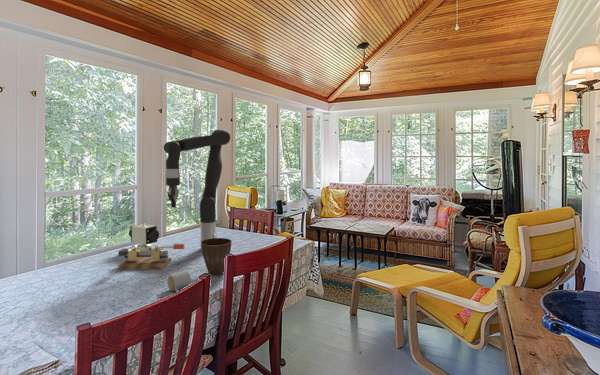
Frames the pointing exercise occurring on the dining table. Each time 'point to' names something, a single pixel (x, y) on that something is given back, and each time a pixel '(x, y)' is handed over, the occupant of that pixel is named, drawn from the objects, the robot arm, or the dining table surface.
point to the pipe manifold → (146, 255)
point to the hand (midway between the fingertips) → (173, 207)
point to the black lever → (126, 250)
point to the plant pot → (215, 254)
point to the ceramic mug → (179, 280)
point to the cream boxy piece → (144, 235)
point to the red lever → (175, 246)
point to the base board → (144, 264)
